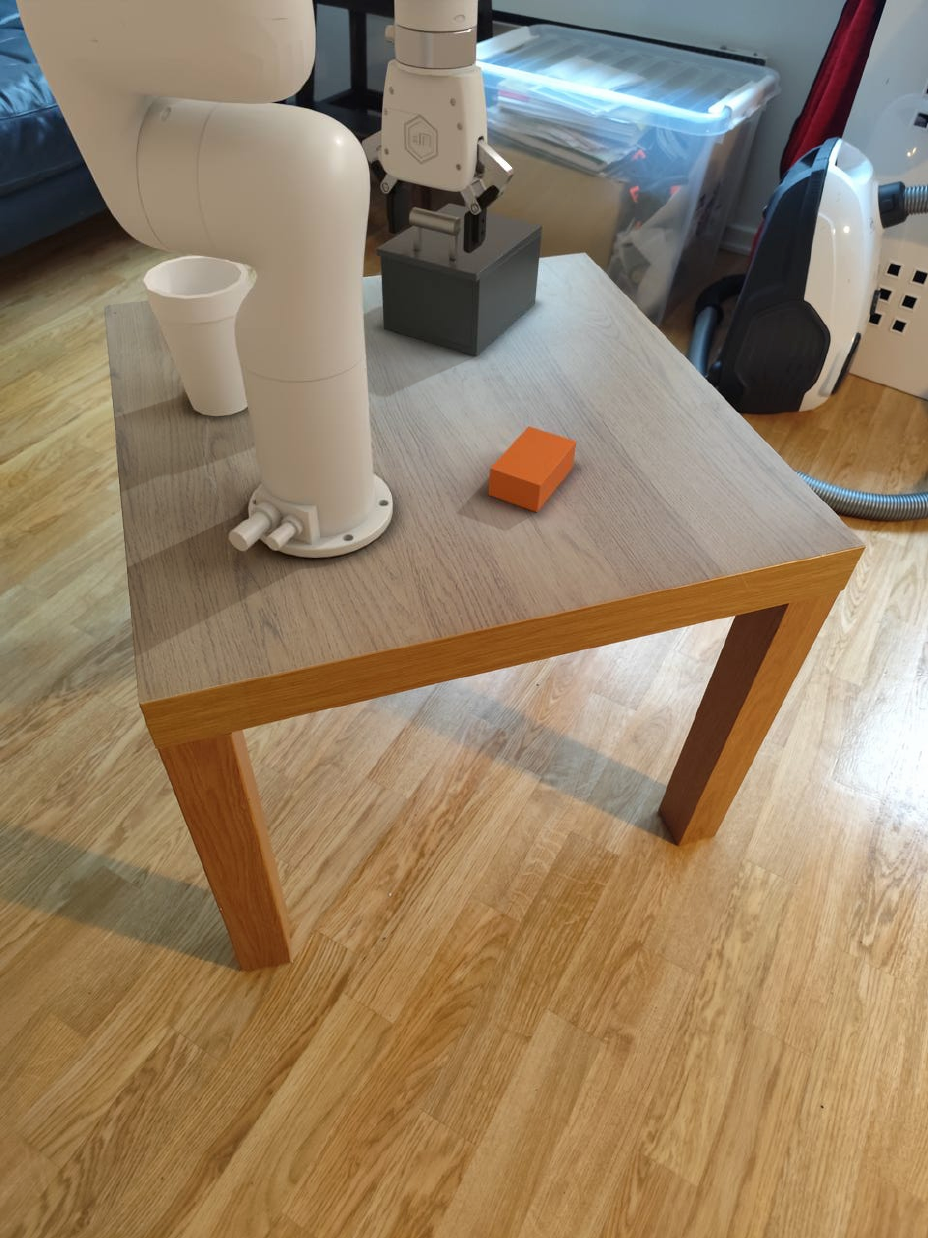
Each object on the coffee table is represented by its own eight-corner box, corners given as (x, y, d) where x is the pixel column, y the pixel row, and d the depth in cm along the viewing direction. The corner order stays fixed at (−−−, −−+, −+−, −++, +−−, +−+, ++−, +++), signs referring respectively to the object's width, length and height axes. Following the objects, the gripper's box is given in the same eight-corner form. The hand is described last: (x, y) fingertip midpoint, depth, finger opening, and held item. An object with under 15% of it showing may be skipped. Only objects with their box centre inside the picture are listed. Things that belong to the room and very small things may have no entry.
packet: (537, 512, 74) (540, 485, 72) (488, 495, 76) (489, 468, 73) (572, 467, 79) (576, 441, 77) (526, 452, 81) (528, 425, 78)
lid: (476, 282, 87) (478, 232, 83) (376, 255, 91) (373, 206, 87) (541, 231, 97) (546, 185, 93) (449, 209, 101) (450, 164, 97)
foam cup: (166, 387, 87) (134, 264, 78) (251, 369, 90) (230, 248, 81) (189, 433, 81) (157, 305, 72) (279, 411, 84) (259, 287, 75)
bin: (476, 356, 94) (479, 279, 87) (383, 328, 98) (380, 253, 91) (535, 304, 103) (541, 231, 97) (448, 280, 107) (449, 210, 101)
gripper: (335, 41, 76) (348, 233, 89) (500, 69, 71) (490, 269, 83) (379, 27, 81) (386, 211, 93) (537, 53, 75) (522, 244, 88)
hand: (435, 238), depth 88 cm, fingers open, 8 cm apart
